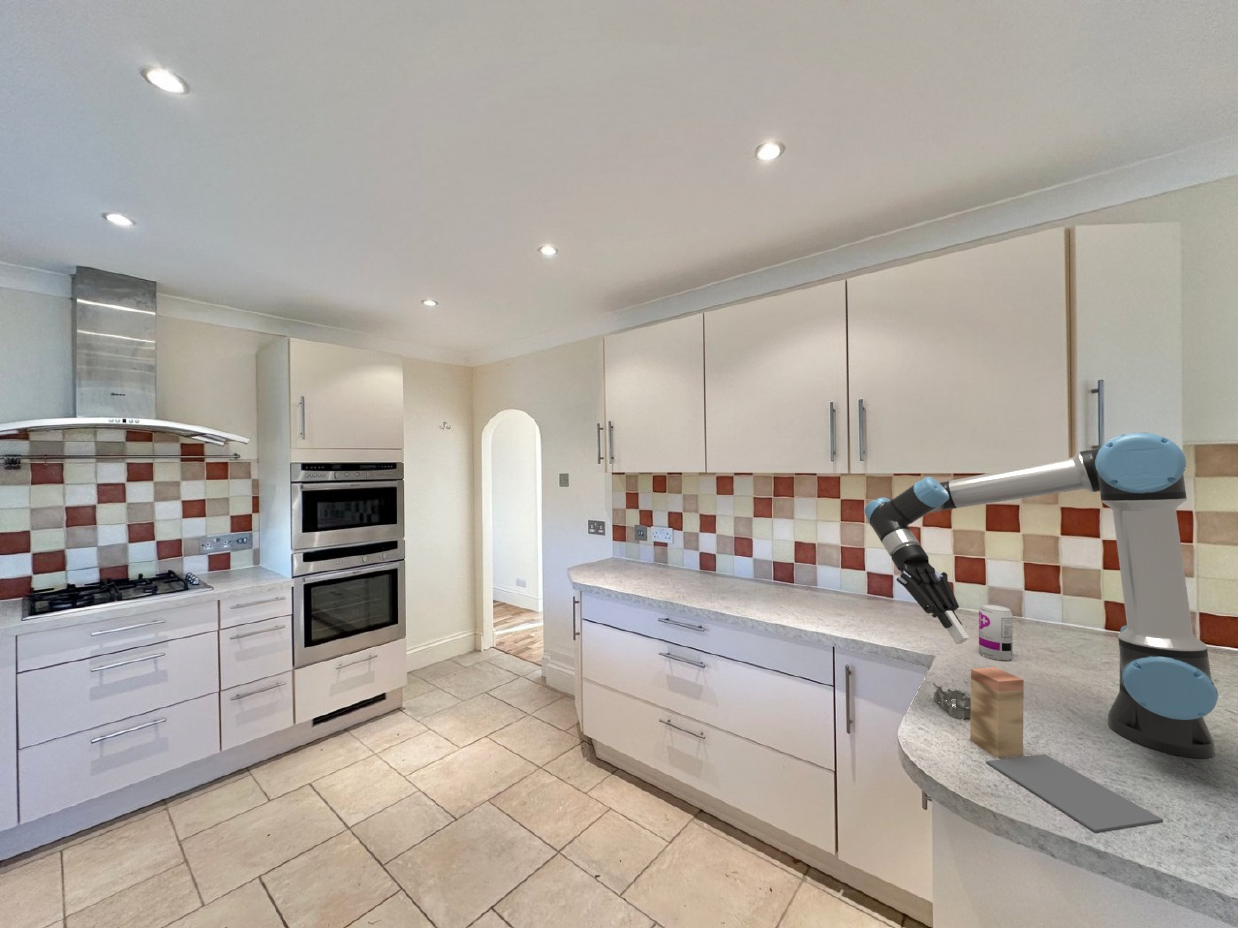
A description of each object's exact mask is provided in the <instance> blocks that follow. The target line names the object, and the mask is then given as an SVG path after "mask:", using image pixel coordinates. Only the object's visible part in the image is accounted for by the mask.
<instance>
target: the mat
mask: <svg viewBox="0 0 1238 928" xmlns="http://www.w3.org/2000/svg"><path fill="white" fill-rule="evenodd" d="M985 763H986V764H987V765H988V766H990V767H991V768H993V769H994V770H996V771H998V772H999V773H1001V774H1002V775H1004V776H1005V777H1007V778H1009V779H1010V780H1011V781H1014V782H1015V783H1016V784H1018V785H1019V786H1021V787H1023V788H1024V789H1026V790H1027V791H1029V792H1030V793H1032V794H1034V795H1035V796H1037V797H1038V798H1039V799H1041V800H1042V801H1044V802H1046V803H1047V804H1049V805H1051V806H1052V807H1054V808H1055V809H1056V810H1058V811H1060V812H1061V813H1063V814H1064V815H1067V816H1068V817H1069V818H1070V819H1072V820H1074V821H1076V822H1077V823H1078V824H1080V825H1082V826H1084V827H1085V828H1086V829H1088V830H1090V831H1091V832H1092V833H1095V834H1096V833H1101V832H1106V831H1107V832H1108V831H1113V830H1118V829H1120V828H1121V829H1126V828H1125V827H1127V828H1130V827H1129V826H1133V827H1138V825H1139V826H1145V825H1150V824H1151V825H1152V824H1157V823H1163V822H1164V819H1163V818H1161V817H1159V816H1158V815H1156V814H1154V813H1152V812H1151V811H1149V810H1147V809H1146V808H1143V807H1142V806H1140V805H1138V804H1136V803H1134V802H1133V801H1130V800H1129V799H1127V798H1126V797H1124V796H1121V795H1120V794H1118V793H1116V792H1114V791H1113V790H1111V789H1110V788H1107V787H1105V786H1104V785H1102V784H1100V783H1098V782H1097V781H1094V780H1093V779H1091V778H1089V777H1087V775H1086V776H1085V775H1083V774H1081V773H1080V772H1078V771H1076V770H1074V769H1073V768H1071V767H1070V766H1067V765H1065V764H1064V763H1062V762H1060V761H1058V760H1057V759H1054V758H1053V757H1051V756H1049V755H1047V754H1046V753H1042V754H1036V755H1035V754H1034V755H1025V756H1015V757H1007V758H1001V759H1000V758H998V759H992V760H985Z"/></svg>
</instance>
